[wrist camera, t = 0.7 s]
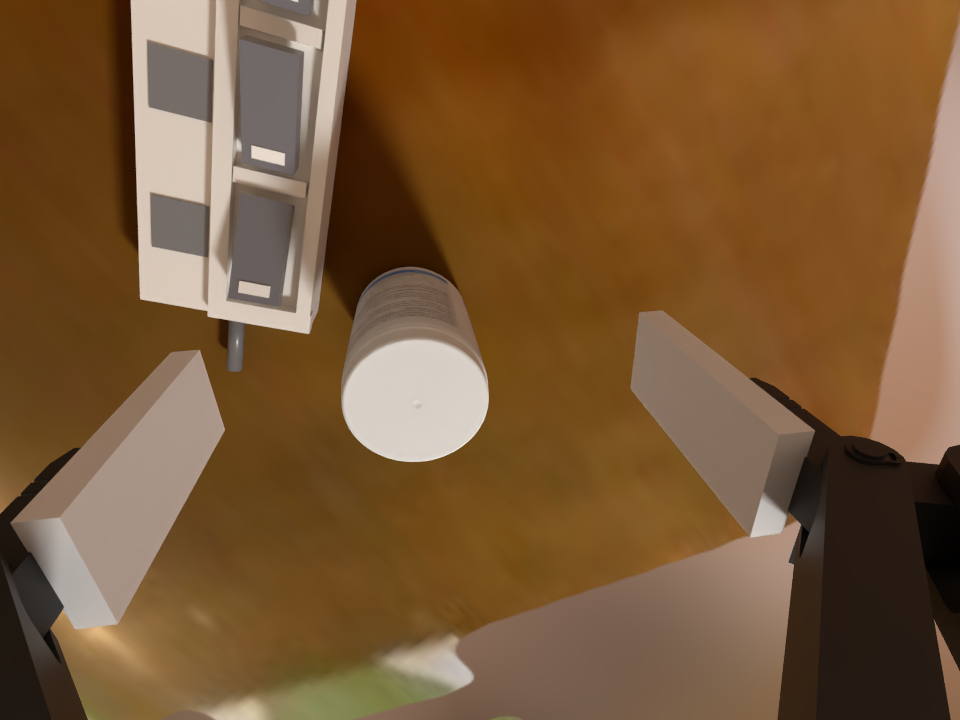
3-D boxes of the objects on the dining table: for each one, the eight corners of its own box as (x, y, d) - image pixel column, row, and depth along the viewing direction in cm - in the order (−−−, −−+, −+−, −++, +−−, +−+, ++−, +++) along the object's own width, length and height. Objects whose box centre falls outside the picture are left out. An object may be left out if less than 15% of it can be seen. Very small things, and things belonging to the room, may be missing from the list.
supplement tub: (333, 318, 44) (301, 408, 31) (409, 239, 41) (409, 300, 28) (416, 383, 48) (419, 488, 34) (489, 315, 45) (521, 399, 32)
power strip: (164, 348, 43) (136, 376, 39) (158, -223, 28) (111, -284, 24) (311, 371, 46) (301, 400, 41) (375, -140, 31) (370, -181, 26)
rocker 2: (233, 295, 36) (227, 297, 34) (246, 194, 34) (239, 192, 33) (281, 304, 36) (277, 306, 35) (294, 205, 35) (291, 204, 34)
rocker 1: (248, 155, 33) (241, 163, 32) (246, 34, 29) (238, 39, 28) (298, 167, 34) (293, 175, 33) (304, 51, 30) (299, 56, 29)
